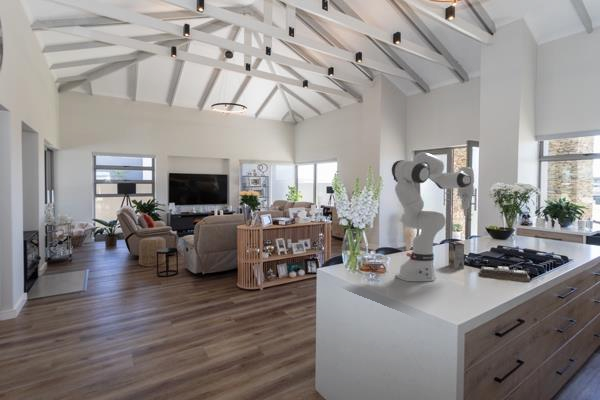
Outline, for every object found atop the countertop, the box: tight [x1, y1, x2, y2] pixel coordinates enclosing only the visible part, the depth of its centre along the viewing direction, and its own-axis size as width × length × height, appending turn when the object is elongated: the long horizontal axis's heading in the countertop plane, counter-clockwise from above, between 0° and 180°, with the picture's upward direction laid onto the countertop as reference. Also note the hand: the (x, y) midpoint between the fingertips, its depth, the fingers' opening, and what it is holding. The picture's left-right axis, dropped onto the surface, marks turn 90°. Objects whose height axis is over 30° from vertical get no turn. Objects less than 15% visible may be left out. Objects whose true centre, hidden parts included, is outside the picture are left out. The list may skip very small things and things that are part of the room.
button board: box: [479, 266, 531, 283], centre depth 178 cm, size 10×24×4 cm, turn 59°
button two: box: [512, 269, 525, 273], centre depth 174 cm, size 5×5×2 cm
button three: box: [482, 266, 494, 270], centre depth 182 cm, size 5×5×2 cm
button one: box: [497, 265, 509, 272], centre depth 178 cm, size 5×5×2 cm
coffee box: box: [448, 241, 465, 269], centre depth 202 cm, size 9×6×16 cm
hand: (465, 215), depth 188 cm, fingers closed
